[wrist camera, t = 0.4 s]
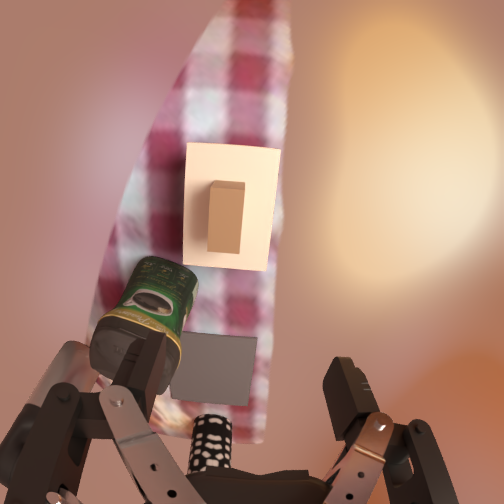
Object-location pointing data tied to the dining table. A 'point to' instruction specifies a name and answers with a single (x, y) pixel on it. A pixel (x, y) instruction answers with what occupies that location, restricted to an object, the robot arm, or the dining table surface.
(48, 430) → the robot arm
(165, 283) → the coffee jar
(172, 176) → the dining table surface
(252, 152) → the lid
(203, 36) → the dining table surface
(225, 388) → the mat
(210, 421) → the spotted tube
